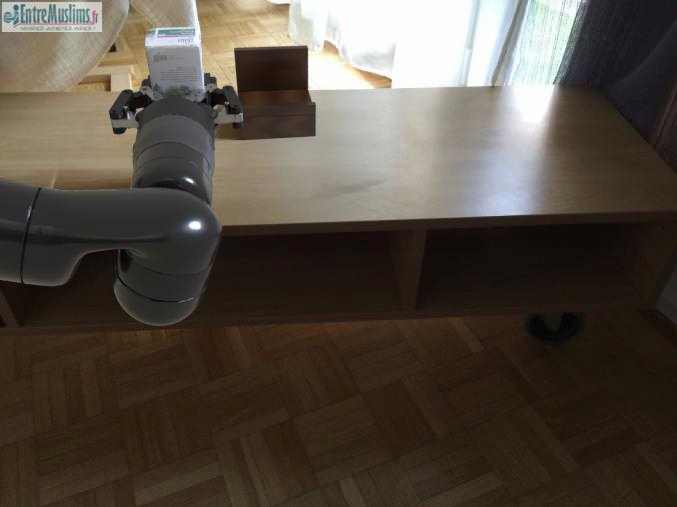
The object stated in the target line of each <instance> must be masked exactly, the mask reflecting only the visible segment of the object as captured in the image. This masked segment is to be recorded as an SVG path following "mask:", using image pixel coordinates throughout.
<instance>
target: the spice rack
mask: <svg viewBox="0 0 677 507" xmlns="http://www.w3.org/2000/svg"><path fill="white" fill-rule="evenodd" d="M233 56H234V66H235V81H236V94H237V96H238V98H239V100H240V102H241V104H242V113H243V127H242V128H240V139H241V140H242V141H244V140H245V141H246V140H260V139H262V140H263V139H264V140H265V139H278V138H279V139H282V138H298V137H300V138H301V137H315V136H316V135H317V104H316V102H315V101H312V97H311V94H310V91H309V47H308V45H306V44H305V45H279V46H276V45H275V46H245V47H233Z"/></svg>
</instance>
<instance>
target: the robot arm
mask: <svg viewBox="0 0 677 507" xmlns="http://www.w3.org/2000/svg"><path fill="white" fill-rule="evenodd" d="M219 106H223V107H222V108H221V111H219V112H218V110H217V109H218V108H219ZM138 109H141V110H139V111H137V110H138ZM108 116H109V120H110V124H111V129H112V133H113V134H114V135H118V136H119V135H123V134H125V133H126V132H127V129H136V130H137V131H136V136H135V141H134V142H133V145H132V151H131V152H132V162H131V163H132V173H131V178H130V183H129V184H130V185H129V188H107V189H106V188H105V189H57V188H53V187H48V186H42V185H38V184H33V183H28V182H24V181H18V180H13V179H9V178H3V177H0V280H1V281H5V282H11V283H19V284H22V283H23V284H26V285H34V286H42V287H59V286H63V285H66V284H67V283H69V282H70V281H71V280H72V279H73V278H74V276H75V274H76V273H77V271H78V269H79V267H80V265H81V263H82V260H83V258H84V257H85V256H86V255H88V254H90V253H96V252H103V251H110V250H118V251H117V255H116V256H117V257H116V261H115V266H114V271H113V279H112V286H113V292H114V295H115V297H116V300H117V301H118V302H117V303H119V305H120V307H121V309H123V310H124V312H125V313H127V315H129V316H130V317H131V318H133V319H134V320H135V321H138V322H140V323H142V324H145V325H148V326H154V327H165V326H172V325H175V324H177V323H179V322H182V321H184V320H185V319H187V318H188V317H189V316H191V315H192V314H193V313H194V312H195V311H196V309H197V308H198V307H199V306H200V304H201V302H202V301H203V298H204V296H205V293H206V290H207V287H208V283H209V279H210V277H211V273H212V270H213V268H214V264H215V262H216V257H217V254H218V252H219V248H220V245H221V241H222V237H223V236H222V235H223V224H222V222H221V219H220V216H219V215H218V213H217V212H216V211H215V209H214V207H212V205H213V195H214V194H213V188H214V187H213V184H214V183H213V179H214V178H213V177H214V173H215V166H216V165H215V164H216V153H215V152H216V146H215V144H216V143H215V142H216V141H215V131H216V130H217V129H218V128H219V126H220V125H223V124H227V125H231V127H232V129H236V130H239V129H240V128H242V127H243V113H242V104H241V102H240V100H239V98H238V94H237V91H236V90H235V88H234V86H232V85H228V84H227V85H223V86H222V87H221V88H219V87H218V80H217V77H216V76H211V72H204V89H197V90H196V91H194V92H193V93H192V94H191V95H190V96H189V97H187V96H186V97H185V98H181V97H167V98H166V97H163V96H162V95H161V94H160V93H159V92H158V91H157V90H154V91H152V86H151V81H150V75H149V74H148V75H147V78H144V79H142V81H141V84H140V87H139V88H138V91H134V90H133V89H129V88H127V89H123V90H121V92H120V93H119V94H118V96H117V98H116V99H115V101H114V102H113V104H112V105H111V107H110V108H109V110H108ZM240 130H241V129H240Z"/></svg>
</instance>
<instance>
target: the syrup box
mask: <svg viewBox="0 0 677 507" xmlns="http://www.w3.org/2000/svg"><path fill="white" fill-rule="evenodd" d="M201 40H202V39H201V32H200V28H199V26H178V27H176V26H175V27H148V28H147V30H146V33H145V40H144V51H145V56H146V63H147V68H148V69H147V70H148V73H149V74H148V75H150V81H151V86H152V91H154V90H157V91H158V92H159V93H160V94H161V95H162V96H163V97H166V98H167V97H181V98H185V97H186V96H187V97H189V96H190V95H191V94H192V93H193V92H194V91H196V90H197V89H204V73H205V71H204V61H203V60H204V59H203V50H202V41H201Z"/></svg>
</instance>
